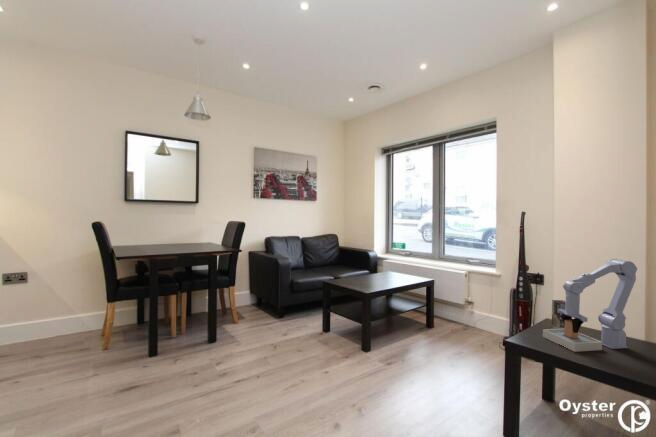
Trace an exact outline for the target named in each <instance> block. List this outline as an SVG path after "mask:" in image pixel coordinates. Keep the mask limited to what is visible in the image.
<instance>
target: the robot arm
mask: <svg viewBox="0 0 656 437" xmlns="http://www.w3.org/2000/svg"><path fill="white" fill-rule="evenodd" d="M637 271H638V267H637V266H636V264H635V263H634V262H633V261H630V260H629V261H628V260H623V259H618V258H611V259H610V260H607V261H606V262H605V264H603V265H602V266H600V267H598V268H596V269H595V270H593V271H592V272H590V273H588V272H587V273H586V272H585V273H581V274H580V275H579V276H577V277H576V278H573V279H572V280H567V281H565V283H564V285H563V286H562V288H563V289H564V292H565V301H566V302H565V310H563V309H558V313H562V315H560V317H561V318H562V320H563V323H564V325H565V320H572V323H573V332H574V333H578V332H579V330H580V328H581V326H582V324H584V323H587V322H588V319H589V318H588V317H586V316H584V315H582V314H580V306H581V305H580V303H581V302H580V301H581V294H582V293H583V292H584V290H585V289H586V288H588V287H590V286H591V285H593V284H595V283H596V280H597V279H600V278H602V277H605V276H607V275H608V274H610V273H614V274H615V275H616V276H617V277H618V279H619V280H618V283H617V285H616V287H615V290H614V293H613V295H612V298H611V300H610V302H609V305H608V307H606V308H604V309H603V310H602V312H601V313H599V315H598V316H597V318H598V322H599V323H600V326H601V334H600V338H601V339H600V341H601V342H602V346H604V347H606V348H609V349H612V350H615V349H617V350H618V349H628V348H629V347H628V346H627V334H626V331H625V330H624V329H625V327H626V319H627V318H626V316H625V314H624V310H625V307H626V305H627V304H628V300H629V297H630V295H631V292H632V290H633V288H634V285H635V283H636V280H637V276H636V274H637Z"/></svg>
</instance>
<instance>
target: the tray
mask: <svg viewBox="0 0 656 437" xmlns="http://www.w3.org/2000/svg"><path fill="white" fill-rule="evenodd" d="M542 337H543V338H545V339H546V340H548V341H550V342H552V343H555V344H556V345H559V344H560V345H559V346H561V345H562V346H561V347H563V346H564V348H565V347H566V349H567V348H568V350H569V351H572V352H574V353H575V352H576V353H577V352H589V351H590V352H591V351H603V345H602V342H601V340H600V339H599V340H598V339H596V338H594V337H591V336H589V335H587V334H584V333H581V332H579V331H578V338H570V337H567V336H565V335H564V329H555V328H550V329H549V328H547V329H542Z"/></svg>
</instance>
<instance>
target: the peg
mask: <svg viewBox="0 0 656 437" xmlns="http://www.w3.org/2000/svg"><path fill="white" fill-rule="evenodd" d="M564 335H565V336H567V337H570V338H578V333H574V332H573V323H572V320H565V325H564Z"/></svg>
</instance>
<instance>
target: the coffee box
mask: <svg viewBox="0 0 656 437" xmlns="http://www.w3.org/2000/svg"><path fill="white" fill-rule="evenodd" d="M565 302H566V300H561V299H560V300H559V299H552V300H551V303H552V304H551V328H552V329H564V323H563V320H562V318H561V317H560V315H562V313H558V309H563V310H565Z"/></svg>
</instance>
